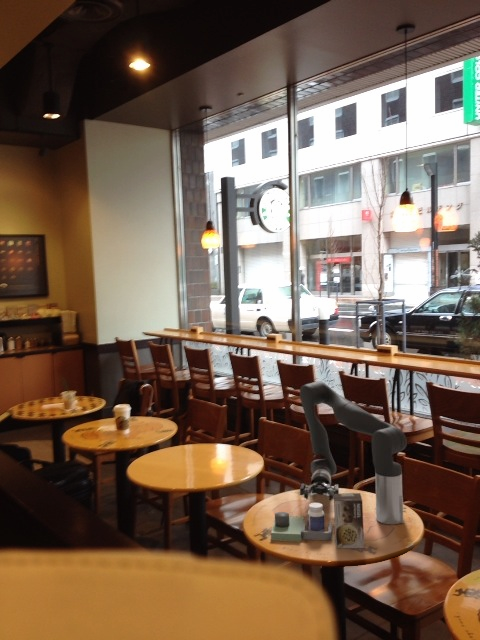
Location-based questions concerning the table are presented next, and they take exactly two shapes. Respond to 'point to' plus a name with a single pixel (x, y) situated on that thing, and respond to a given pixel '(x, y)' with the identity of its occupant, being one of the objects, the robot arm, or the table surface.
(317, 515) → the pill bottle
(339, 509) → the coffee box
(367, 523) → the table surface
